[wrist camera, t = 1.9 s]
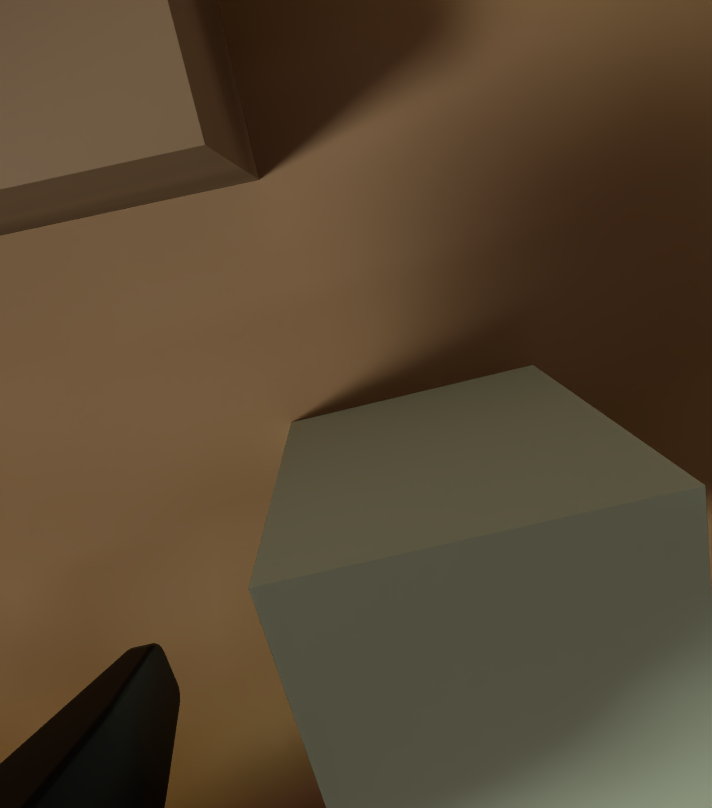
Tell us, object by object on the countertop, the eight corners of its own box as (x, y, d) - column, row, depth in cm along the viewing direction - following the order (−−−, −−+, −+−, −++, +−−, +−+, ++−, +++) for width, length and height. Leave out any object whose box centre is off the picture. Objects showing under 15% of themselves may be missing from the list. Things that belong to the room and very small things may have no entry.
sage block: (562, 572, 11) (723, 819, 7) (349, 619, 12) (355, 891, 7) (531, 364, 10) (704, 485, 5) (291, 421, 10) (248, 587, 5)
